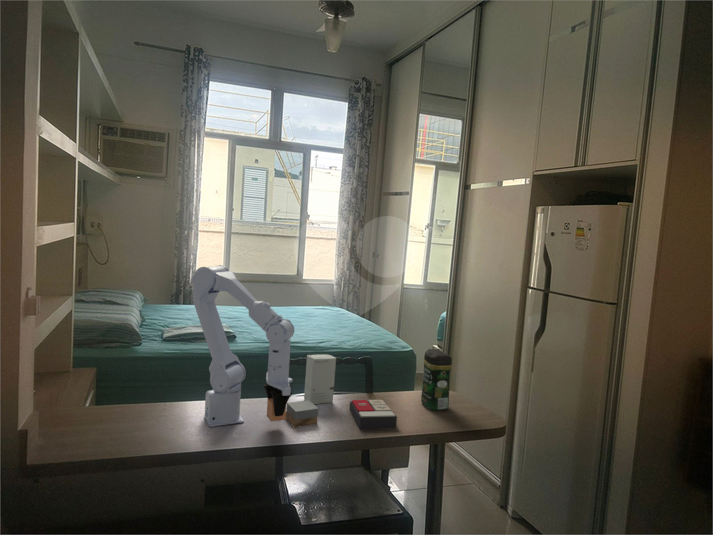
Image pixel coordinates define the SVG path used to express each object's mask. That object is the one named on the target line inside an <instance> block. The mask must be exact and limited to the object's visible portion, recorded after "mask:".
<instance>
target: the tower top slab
mask: <svg viewBox="0 0 713 535" xmlns="http://www.w3.org/2000/svg"><path fill="white" fill-rule="evenodd" d="M286 411H287V412H288V413H289V414H290V415H291V416H292V417H293V418H294V419H295V420H300V419H307V418H314V417H317V418H319V411H320V410H319V407H317V406H316V404H313V403H312V402H311V401H310V400H305V399H304V400H299V401H298V400H297V401H291V402H289V401H288V402H287V404H286Z"/></svg>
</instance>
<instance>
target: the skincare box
mask: <svg viewBox="0 0 713 535" xmlns="http://www.w3.org/2000/svg"><path fill="white" fill-rule="evenodd" d="M336 364H337V357H335V356H333V355H331V354H307V355H306V366H305V367H306V368H305V381H304V394H303V399H304V401H305V400H310V401H311V402H312V403H313V404H314V405H320V404H321V405H322V404H329V403H333V402H334V391H335V390H334V389H335V376H336V367H337V366H336Z"/></svg>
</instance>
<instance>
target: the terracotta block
mask: <svg viewBox="0 0 713 535" xmlns="http://www.w3.org/2000/svg"><path fill="white" fill-rule="evenodd" d="M266 405H267V406H266V418H268V420H269V421H270V422H271V423H272V422H278V421H284V420H286V418H285V417H286V410H287V406H286V407H285V410H284V413H283V416H275V414H274V403H273V398H267V402H266Z"/></svg>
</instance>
